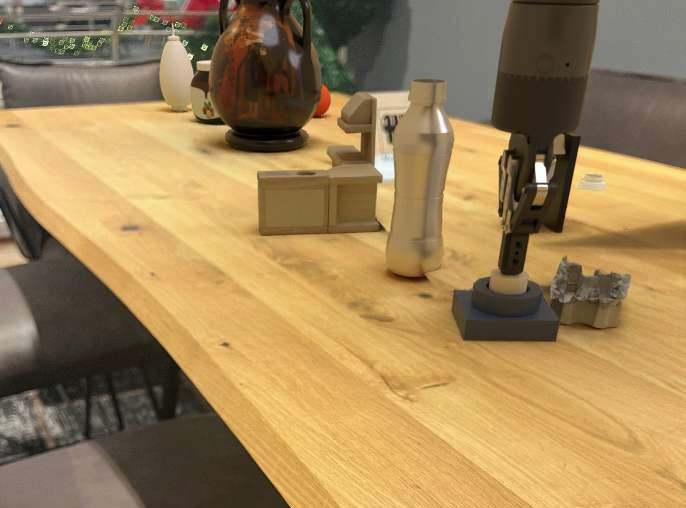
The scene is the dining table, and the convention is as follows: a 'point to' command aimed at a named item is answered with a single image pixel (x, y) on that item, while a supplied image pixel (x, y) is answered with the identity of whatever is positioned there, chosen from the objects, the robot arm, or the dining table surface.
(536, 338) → the control block
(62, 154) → the dining table surface
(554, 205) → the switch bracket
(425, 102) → the plastic bottle
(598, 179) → the lidless jar
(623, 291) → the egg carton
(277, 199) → the toy kitchen set
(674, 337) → the dining table surface
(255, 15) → the amphora vase
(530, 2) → the robot arm
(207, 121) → the spread jar
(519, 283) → the button
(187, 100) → the sauce bottle
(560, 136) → the lever
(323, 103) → the clementine
